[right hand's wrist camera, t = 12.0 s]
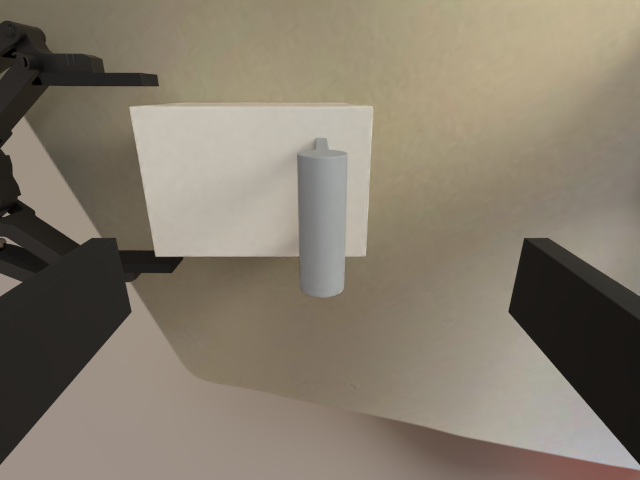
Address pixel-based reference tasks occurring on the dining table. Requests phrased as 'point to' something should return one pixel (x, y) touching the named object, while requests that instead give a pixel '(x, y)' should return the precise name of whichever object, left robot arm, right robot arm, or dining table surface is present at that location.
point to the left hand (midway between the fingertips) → (165, 178)
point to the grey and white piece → (258, 184)
